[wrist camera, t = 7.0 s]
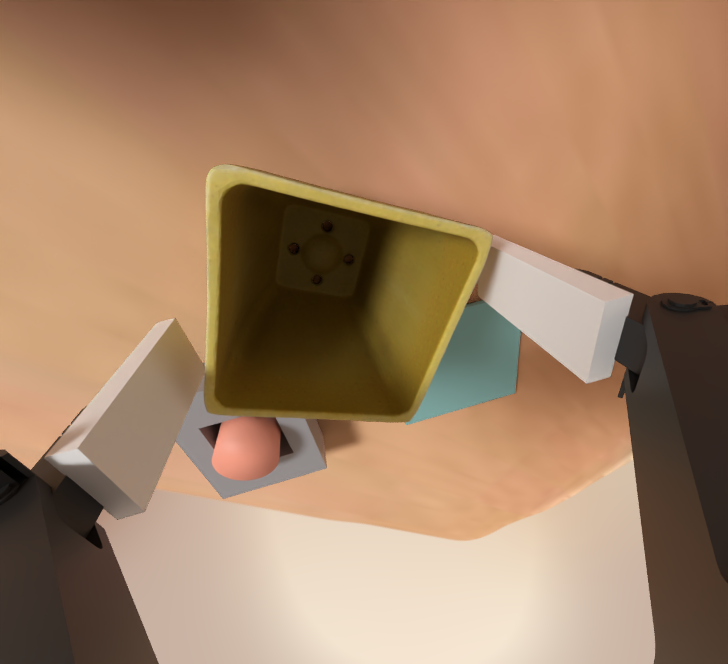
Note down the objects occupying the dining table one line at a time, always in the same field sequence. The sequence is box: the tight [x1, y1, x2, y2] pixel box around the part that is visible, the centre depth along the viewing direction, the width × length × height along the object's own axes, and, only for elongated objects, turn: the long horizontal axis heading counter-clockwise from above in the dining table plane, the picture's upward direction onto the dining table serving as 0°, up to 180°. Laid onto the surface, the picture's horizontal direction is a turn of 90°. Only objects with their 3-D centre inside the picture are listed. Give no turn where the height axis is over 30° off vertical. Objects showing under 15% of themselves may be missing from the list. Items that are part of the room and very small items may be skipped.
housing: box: [176, 363, 327, 499], centre depth 22 cm, size 10×8×3 cm
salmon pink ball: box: [212, 416, 281, 481], centre depth 21 cm, size 4×4×4 cm
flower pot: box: [204, 164, 493, 422], centre depth 15 cm, size 9×9×9 cm
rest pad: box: [405, 300, 521, 425], centre depth 25 cm, size 10×10×1 cm
